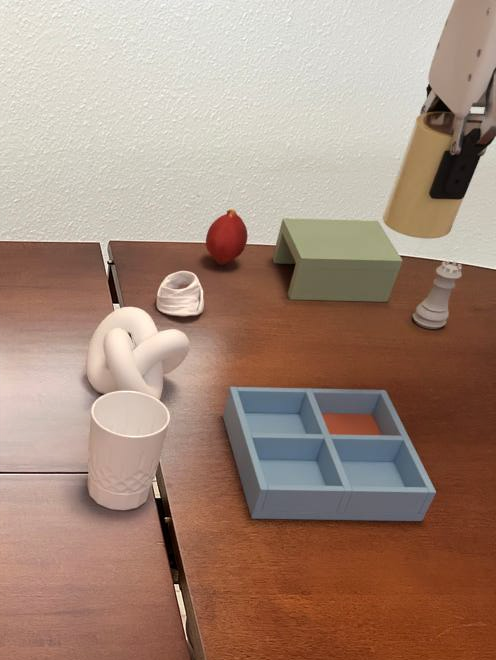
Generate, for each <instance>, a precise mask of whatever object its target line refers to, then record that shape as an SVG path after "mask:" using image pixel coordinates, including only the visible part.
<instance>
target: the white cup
mask: <svg viewBox="0 0 496 660" xmlns="http://www.w3.org/2000/svg"><path fill="white" fill-rule="evenodd" d="M170 420H171V415H170V411H169V409H168V407H167V406H166V405H165V404H164V403H163V402H162V401H161V400H158V399H156V398H154V397H152V396H150V395H148V394H145V393H141V392H136V391H115V392H111V393H107V394H103V395H101V396H99V397H98V398H96V400H94V402H93V404H92V405H91V409H90V423H89V438H88V459H87V471H88V472H87V483H86V484H87V485H86V486H87V491H88V495H89V497H91V499H92V500H94V502H95V503H96V504H98V505H99V506H102V507H104V508H106V509H109V510H115V511H128V510H133V509H137V508H139V507H141V506H142V505H143V504H144V503H146V502H147V501H148V498H149V496H150V493H151V490H152V486H153V482H154V479H155V477H156V475H157V469H158V467H159V463H160V460H161V457H162V452H163V448H164V444H165V440H166V437H167V433H168V428H169V424H170Z"/></svg>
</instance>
